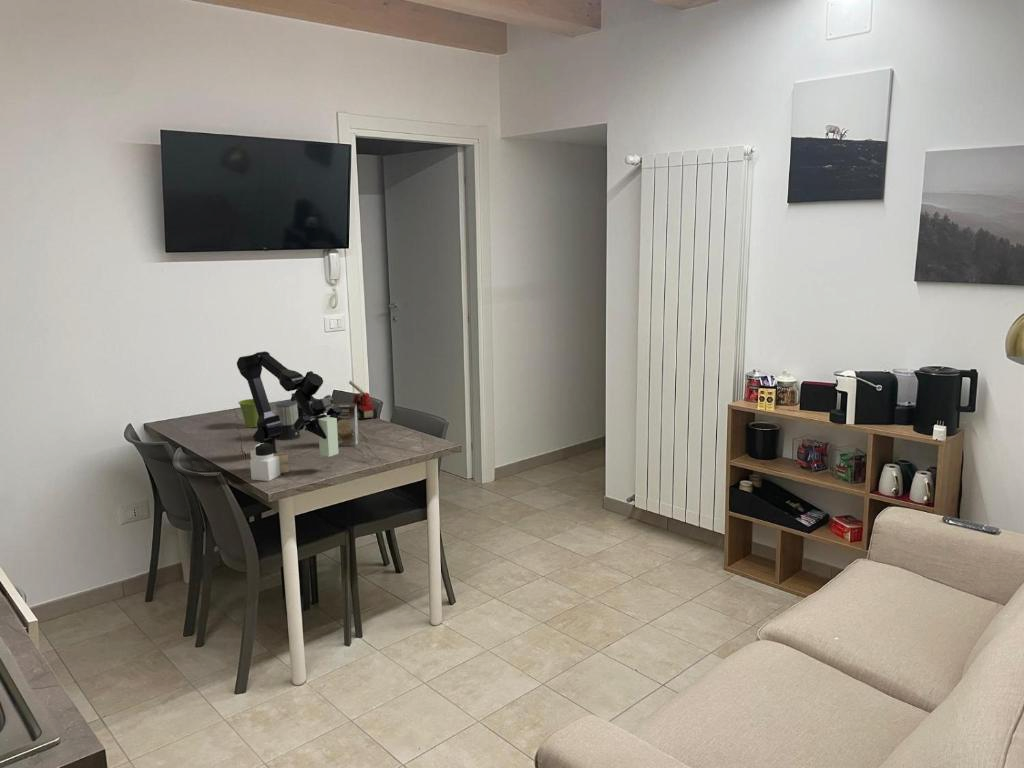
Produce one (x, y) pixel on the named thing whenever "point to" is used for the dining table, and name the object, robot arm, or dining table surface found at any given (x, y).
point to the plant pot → (249, 412)
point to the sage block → (328, 436)
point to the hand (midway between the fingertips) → (331, 436)
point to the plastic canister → (252, 454)
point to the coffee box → (347, 425)
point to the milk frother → (288, 418)
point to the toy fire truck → (363, 404)
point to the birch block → (283, 462)
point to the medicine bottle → (264, 463)
